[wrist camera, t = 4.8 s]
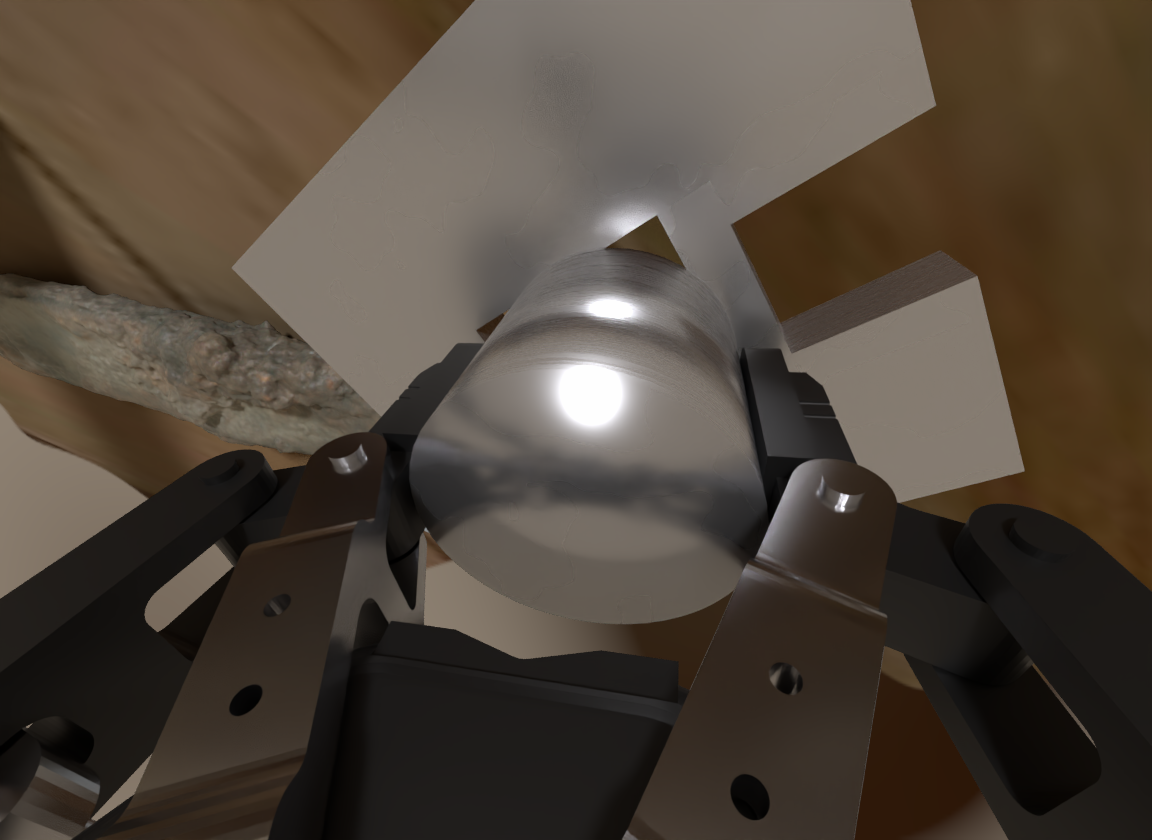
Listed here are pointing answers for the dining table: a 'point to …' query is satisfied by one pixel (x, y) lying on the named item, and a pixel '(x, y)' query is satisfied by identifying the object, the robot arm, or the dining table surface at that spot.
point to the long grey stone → (181, 365)
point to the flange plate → (618, 164)
